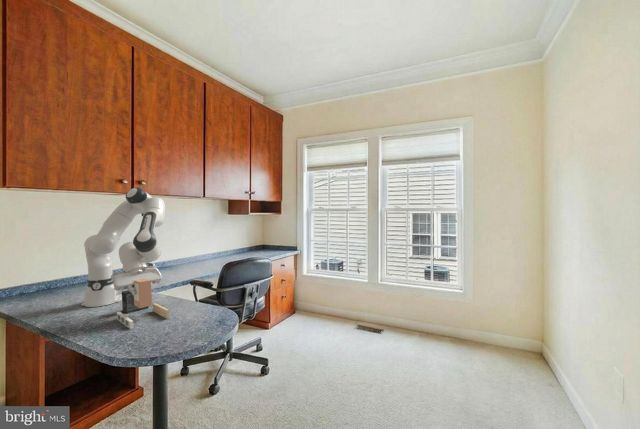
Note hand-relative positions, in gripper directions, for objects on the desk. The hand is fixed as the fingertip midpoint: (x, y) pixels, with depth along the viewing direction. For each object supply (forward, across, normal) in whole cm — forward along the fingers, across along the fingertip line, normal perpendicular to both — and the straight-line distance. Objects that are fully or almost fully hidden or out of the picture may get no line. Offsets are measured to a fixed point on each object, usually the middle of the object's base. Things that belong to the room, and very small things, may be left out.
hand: (142, 292), depth 139 cm
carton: (+4, 0, +5) cm, 6 cm away
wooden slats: (+9, -1, +8) cm, 12 cm away
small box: (-4, +2, +22) cm, 22 cm away
